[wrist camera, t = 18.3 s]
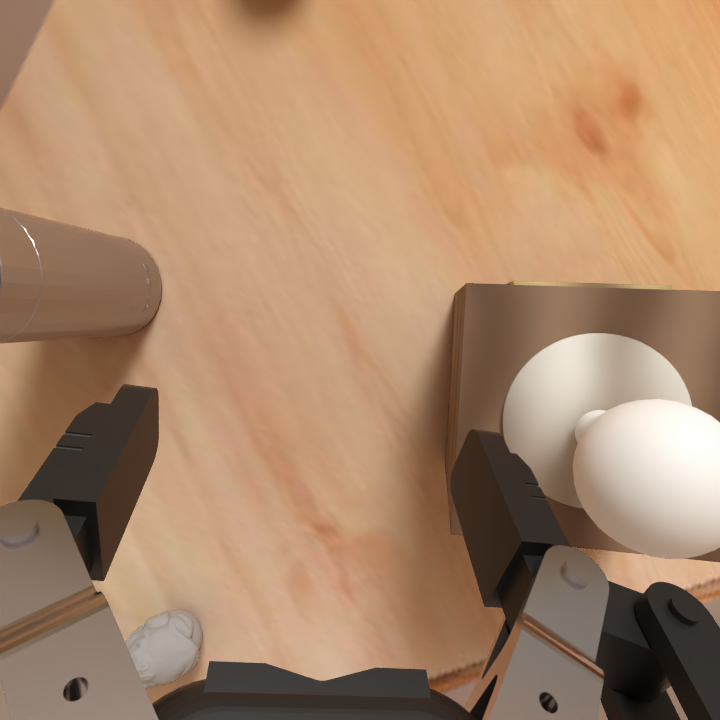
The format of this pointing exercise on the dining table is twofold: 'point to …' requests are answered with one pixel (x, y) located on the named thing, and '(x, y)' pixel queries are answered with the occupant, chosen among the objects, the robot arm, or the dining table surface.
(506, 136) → the dining table surface
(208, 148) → the dining table surface
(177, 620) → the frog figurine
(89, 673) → the robot arm
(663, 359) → the lamp housing
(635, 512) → the lightbulb
